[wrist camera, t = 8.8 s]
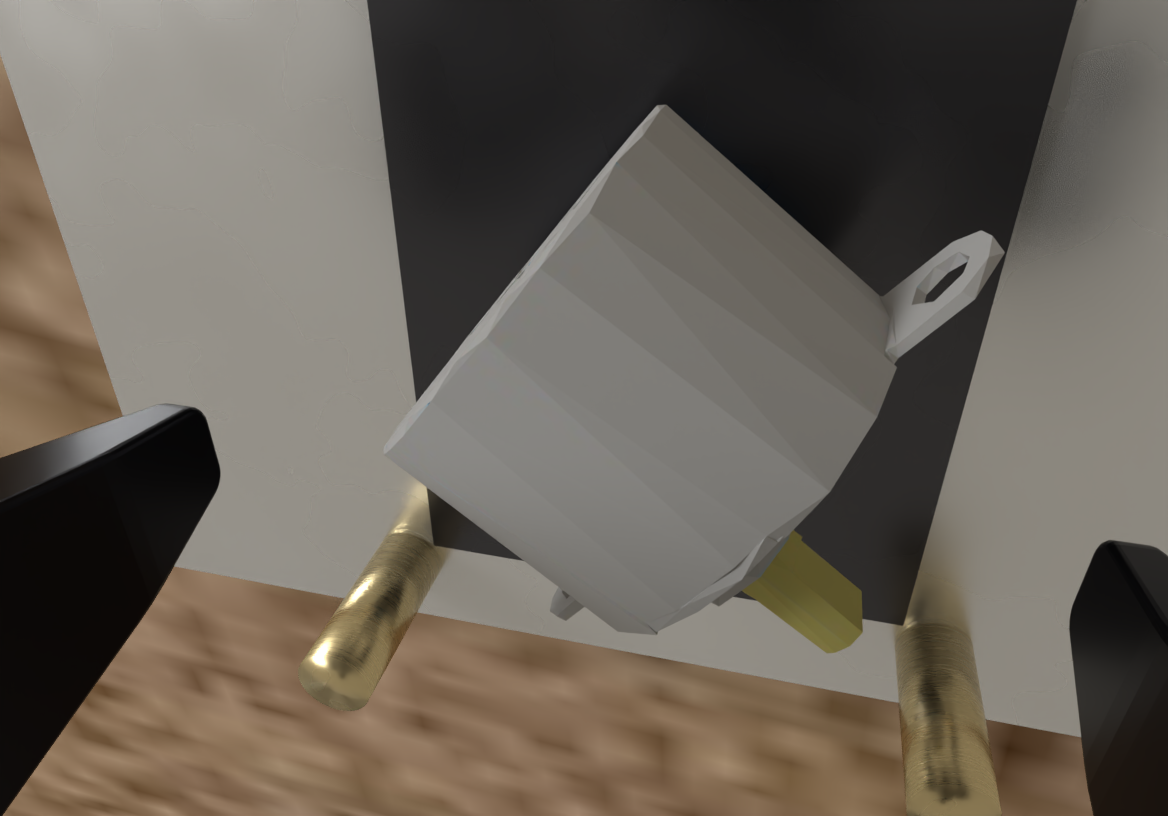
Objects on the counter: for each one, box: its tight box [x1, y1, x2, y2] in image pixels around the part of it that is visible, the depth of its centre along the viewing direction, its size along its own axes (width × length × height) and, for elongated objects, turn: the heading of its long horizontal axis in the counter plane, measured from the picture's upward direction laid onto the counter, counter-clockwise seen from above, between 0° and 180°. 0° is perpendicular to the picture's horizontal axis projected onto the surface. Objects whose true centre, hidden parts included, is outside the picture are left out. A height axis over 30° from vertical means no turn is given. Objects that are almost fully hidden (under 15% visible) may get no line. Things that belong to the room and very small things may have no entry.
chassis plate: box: [0, 0, 1168, 816], centre depth 11 cm, size 20×14×4 cm
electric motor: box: [383, 105, 1005, 654], centre depth 10 cm, size 7×5×5 cm
